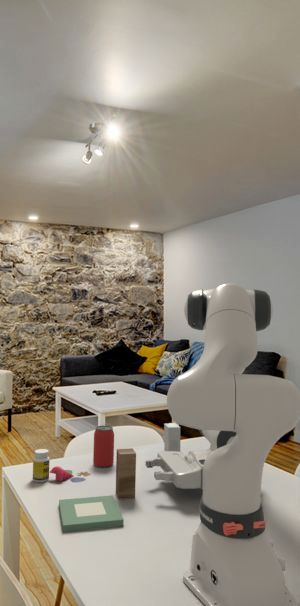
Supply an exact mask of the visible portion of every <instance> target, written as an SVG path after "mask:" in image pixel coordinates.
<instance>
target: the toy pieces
mask: <svg viewBox="0 0 300 606" xmlns="http://www.w3.org/2000/svg"><path fill="white" fill-rule="evenodd" d="M88 472H89V471H80V472H77V474H76V475H77V477H74V475H73V470H71V469H70V470H69V469H64V468H62V467H61V466H60V465H59V466H58V465H57V466H54V467H52V468H51V470H49V474H54V475H55V480H56V482H62V481H65V480H68V479H70V482H71V483H74V484H75V483H82V482H84V481H86V480H87V479H86V478H83V477H88V476H91V475H92V473H91V474H90V472H89V473H88ZM81 476H83V477H81Z"/></svg>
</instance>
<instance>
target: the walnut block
mask: <svg viewBox="0 0 300 606" xmlns="http://www.w3.org/2000/svg"><path fill="white" fill-rule="evenodd" d="M115 461H116V462H115V495H116V497H117V499H118V500H126V499H135V498H136V482H137V481H136V478H137V477H136V475H137V474H136V473H137V472H136V471H137V452H136V451H135V450H134V448H130V447H129V448H116V460H115Z"/></svg>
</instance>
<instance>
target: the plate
mask: <svg viewBox="0 0 300 606" xmlns="http://www.w3.org/2000/svg"><path fill="white" fill-rule="evenodd" d="M58 508H59V514H60V520H61V528H62V529H61V530H62V533H65V532H67V533H68V532H76V531H77V532H78V531H85V530H86V531H88V530H96V529H104V528H116V527H124V520H125V519H124V517H123V516H122V512H121V511H120V508H119V506H118V504H117V502H116V499H115V497H114V495H100V496H99V495H98V496H89V497H88V496H87V497H79V498H78V497H77V498H67V499H66V498H64V499H58Z"/></svg>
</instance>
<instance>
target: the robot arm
mask: <svg viewBox="0 0 300 606" xmlns="http://www.w3.org/2000/svg"><path fill="white" fill-rule="evenodd" d="M270 297H271V296H270V295H269V293H267V292H266V291H264V290H261V289H253V290H250V289H245V288H244V287H242V286H241V285H239V284H238V283H237V284H236V283H229V282H228V283H224V284H221V285H218V286H217V287H215V288H210V289H202V288H201V289H196V290H193V291H191V292H190V293H189V294H188V295H187V297H186V298H187V299H186V300H185V302H184V306H183V309H184V316H185V319H186V321H187V325H188V326H189V327H190V328H191V329H194V330H196V331H197V330H198V331H204V330H205V334H204V335H205V336H204V337H205V338H204V346H203V351H202V354H201V356H200V358H199V359H198V360H197V362H196V363H195V364H193V366H192V367H190V368H189V369H188V370H187V371H185V372H183V373H181V374H179V375H178V376H176V377H175V379H173V381H172V382H171V384H170V386H169V387H168V389H167V390H168V391H167V396H166V405H167V410H168V414H169V415H170V417H171V418H172V420H173V421H174V423H176V424H177V425H180V426H184V427H188V428H190V429H196V430H198V431H199V433H200V434H201V435H202V436H203V437H204V438H205V439H206V440H207V441H208V443H210V447H209V448H208V449H201V450H200V449H197V450H196V449H195V450H189V451H188V453H187V455H185V454H184V453H183V452H181V451H180V452H178V451H163V450H162V451H159V452H158V453H157V457H155V458H153V459H146V460H145V464H144V465H145V467H146V468H147V469H149V468H150V469H152V468H153V467H160V468H161V469H162V471H163V472H162V471H154V473H153V477H154V479H155V480H156V481H165V482H168V483H169V482H172V483H173V484H174V486H175V487H176V488H178V489H183V490H190V489H193V490H194V489H202V496H201V498H200V504H199V520H200V523H199V525H198V527H197V528H196V530H195V531H194V533H193V534H192V539H191V540H192V542H191V551H190V562H189V563H190V564H189V568H188V569H187V570H186V571H184V573H183V575H182V582H183V583H184V584H185V585H186V586H187V587H188V589H190V590H191V592H192V593H194V596H196V597H197V598H198V599H199V600H200V601H201V602H202V603H203V605H204V606H205V605H206V606H298V604H297V602H296V601H295V599H294V598H293V595H292V594H291V593H290V592H291V591H290V590H289V588H288V587H287V585H286V580H285V574H284V572H285V571H286V567H287V566H286V562H285V561H286V560H285V558H284V557H282V556H277V553H276V552H275V549H274V542H273V540H270V539H269V537H268V534H267V532H266V528H267V525H266V523H267V521H266V520H265V512H264V508H263V504H262V503H261V493H262V480H263V471H264V466H265V462H266V460H267V457H268V455H269V454H270V452H271V450H272V449H273V447H274V445H275V444H276V443H277V442H278V441H279V440H280V439H281V438H282V437H283V436H284V435H286V434H288V433H289V432H291V431H292V430H293V429H294V428H295V427H296V426H297V425H298V424H299V422H300V391H299V389H298V387H297V386H296V385H295V383H294V382H293V381H292V380H289V379H285V378H282V377H278V376H275V375H274V376H273V375H269V374H245V373H244V372H245V370H246V368H247V367H249V366H250V365H251V364H252V362H253V361H254V360H255V359H256V357H257V355H258V349H259V345H258V336H257V333H258V332H260V331H264V330H265V329H267V328H268V327H269V326H270V325H271V322H272V320H273V315H274V305H273V303H272V300H271V298H270Z"/></svg>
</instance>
